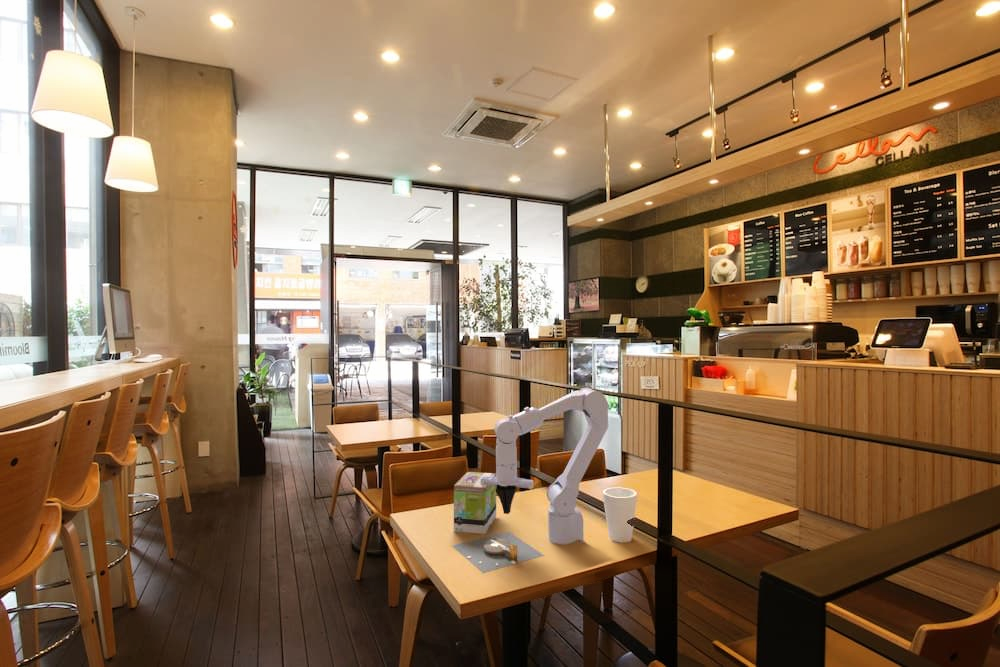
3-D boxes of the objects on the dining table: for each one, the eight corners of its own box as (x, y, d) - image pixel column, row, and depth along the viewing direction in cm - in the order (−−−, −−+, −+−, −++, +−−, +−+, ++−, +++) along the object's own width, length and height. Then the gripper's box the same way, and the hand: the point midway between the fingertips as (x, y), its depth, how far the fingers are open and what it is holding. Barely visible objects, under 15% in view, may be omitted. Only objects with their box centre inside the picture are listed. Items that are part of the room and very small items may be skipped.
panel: (508, 535, 149) (508, 530, 149) (544, 559, 133) (544, 554, 133) (452, 549, 140) (451, 544, 140) (483, 577, 124) (483, 571, 124)
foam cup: (626, 529, 152) (625, 485, 152) (644, 541, 143) (643, 495, 143) (597, 534, 149) (596, 489, 149) (613, 546, 141) (613, 499, 140)
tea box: (486, 538, 147) (485, 486, 147) (452, 535, 150) (452, 485, 149) (497, 518, 162) (496, 472, 162) (466, 516, 164) (465, 470, 164)
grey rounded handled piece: (478, 548, 137) (478, 537, 137) (499, 541, 141) (499, 530, 141) (504, 564, 128) (504, 552, 128) (526, 556, 132) (526, 544, 132)
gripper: (476, 465, 139) (477, 515, 139) (529, 469, 135) (529, 520, 136) (484, 459, 146) (485, 506, 146) (534, 462, 142) (535, 510, 143)
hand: (507, 512), depth 141 cm, fingers closed
